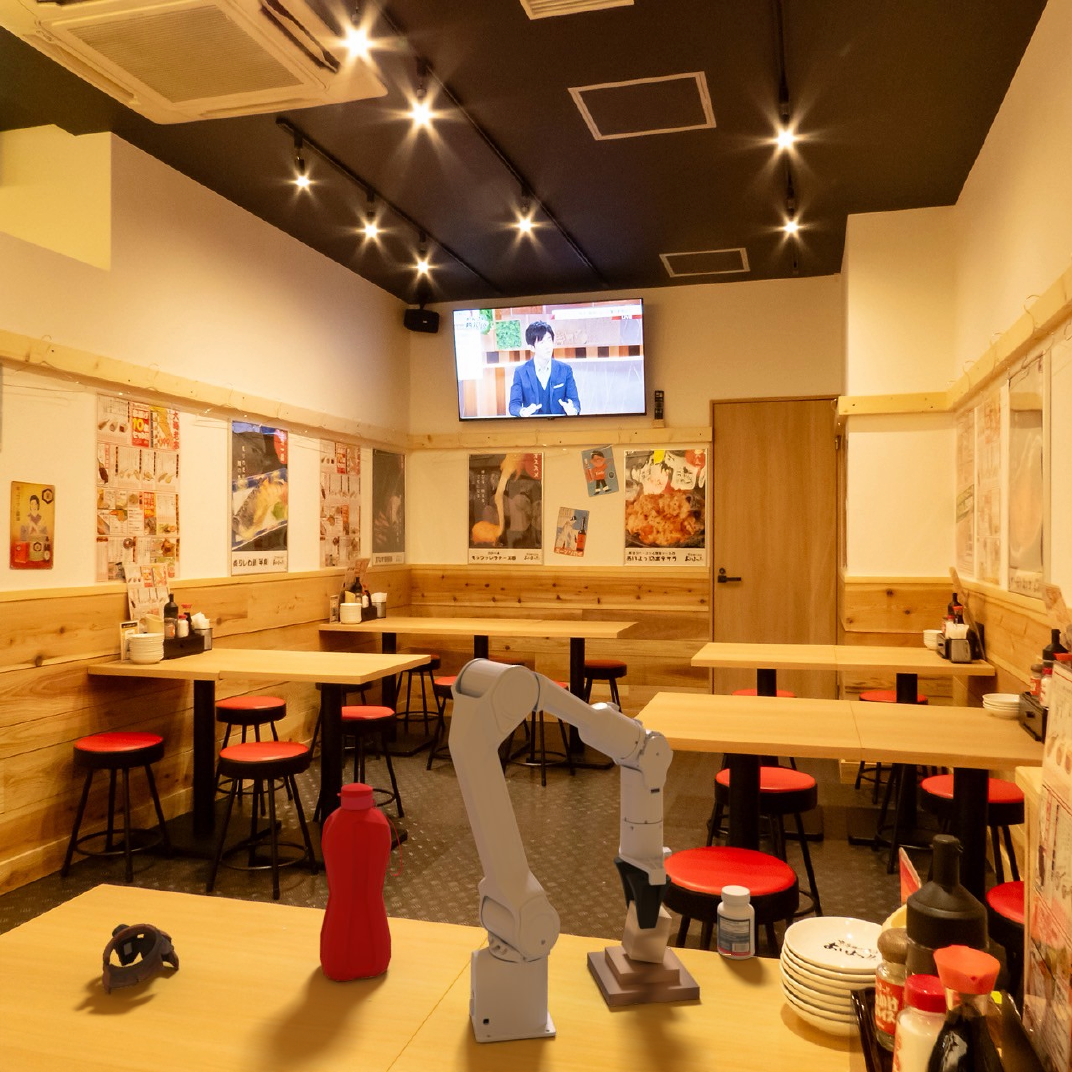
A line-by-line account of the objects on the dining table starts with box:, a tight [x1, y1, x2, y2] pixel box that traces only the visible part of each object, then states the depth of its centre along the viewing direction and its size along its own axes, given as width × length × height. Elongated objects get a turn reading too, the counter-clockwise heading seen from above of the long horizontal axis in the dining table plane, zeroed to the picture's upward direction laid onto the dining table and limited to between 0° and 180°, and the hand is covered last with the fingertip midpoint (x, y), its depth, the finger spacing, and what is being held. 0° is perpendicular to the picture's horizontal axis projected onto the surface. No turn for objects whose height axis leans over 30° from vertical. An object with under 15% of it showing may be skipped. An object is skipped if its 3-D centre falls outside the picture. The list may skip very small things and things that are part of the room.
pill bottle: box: [716, 885, 756, 961], centre depth 127 cm, size 5×5×9 cm
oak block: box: [620, 900, 673, 964], centre depth 119 cm, size 4×4×6 cm
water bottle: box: [319, 782, 403, 983], centre depth 122 cm, size 9×11×25 cm
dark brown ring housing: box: [101, 923, 180, 995], centre depth 118 cm, size 12×10×8 cm
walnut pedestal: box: [586, 945, 701, 1007], centre depth 118 cm, size 12×12×3 cm
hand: (641, 919), depth 119 cm, fingers open, 4 cm apart
